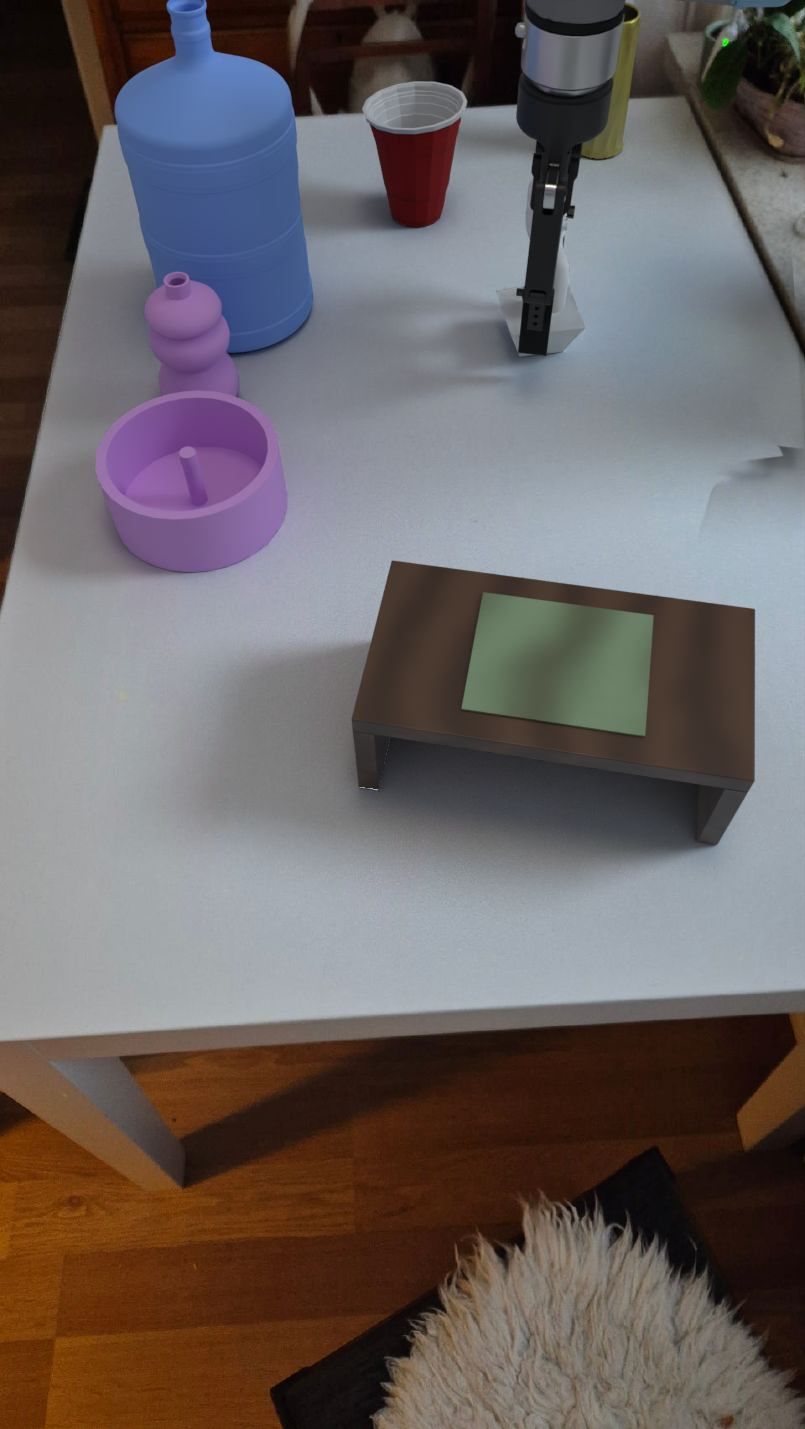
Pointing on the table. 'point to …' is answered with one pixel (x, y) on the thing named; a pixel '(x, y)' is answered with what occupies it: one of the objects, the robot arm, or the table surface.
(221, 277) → the water jug
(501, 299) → the figurine
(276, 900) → the table surface
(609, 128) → the vase
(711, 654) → the shelf
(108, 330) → the table surface
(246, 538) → the container set
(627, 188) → the table surface
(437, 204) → the plastic cup
